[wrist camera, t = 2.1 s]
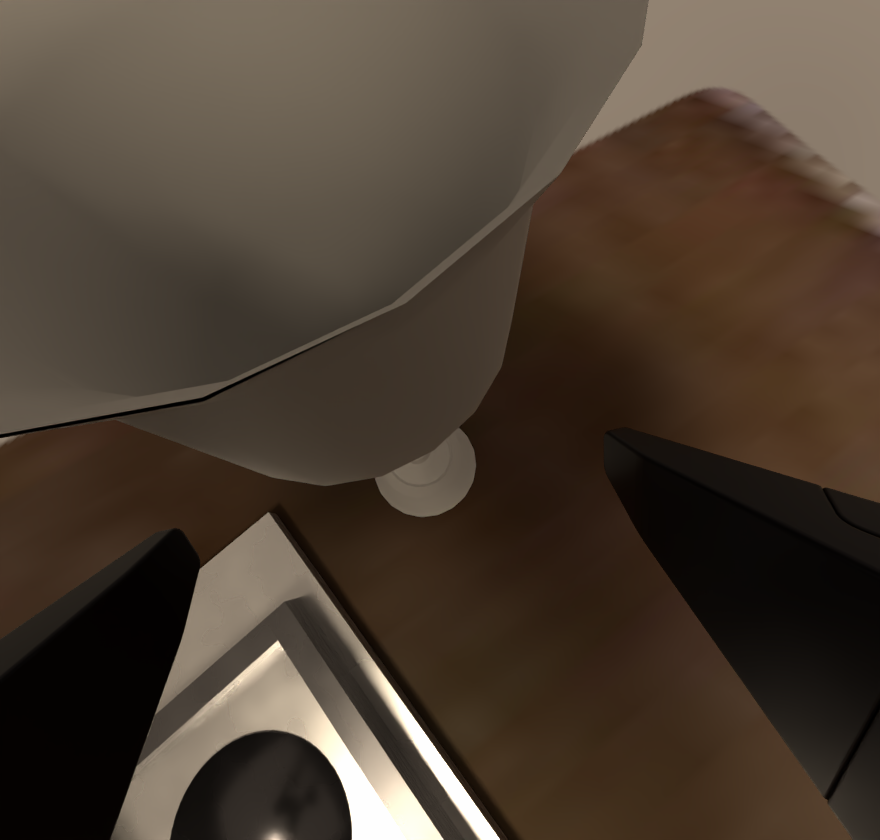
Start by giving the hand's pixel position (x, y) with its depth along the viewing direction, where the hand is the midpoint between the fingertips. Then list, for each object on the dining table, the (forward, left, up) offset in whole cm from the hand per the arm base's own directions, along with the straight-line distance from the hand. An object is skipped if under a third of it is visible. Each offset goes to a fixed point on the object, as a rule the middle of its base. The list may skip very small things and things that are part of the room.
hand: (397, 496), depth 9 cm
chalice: (+3, -2, -11) cm, 12 cm away
